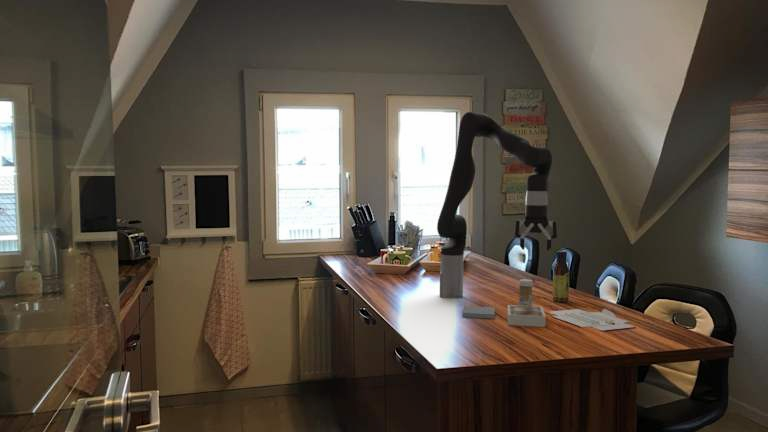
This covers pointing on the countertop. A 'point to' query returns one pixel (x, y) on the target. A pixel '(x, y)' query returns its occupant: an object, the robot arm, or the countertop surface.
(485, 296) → the countertop surface
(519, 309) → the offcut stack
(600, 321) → the white cloth
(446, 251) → the robot arm
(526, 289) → the sprinkles bottle
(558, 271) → the sauce bottle
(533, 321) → the shallow white open box
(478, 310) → the ceramic tile
